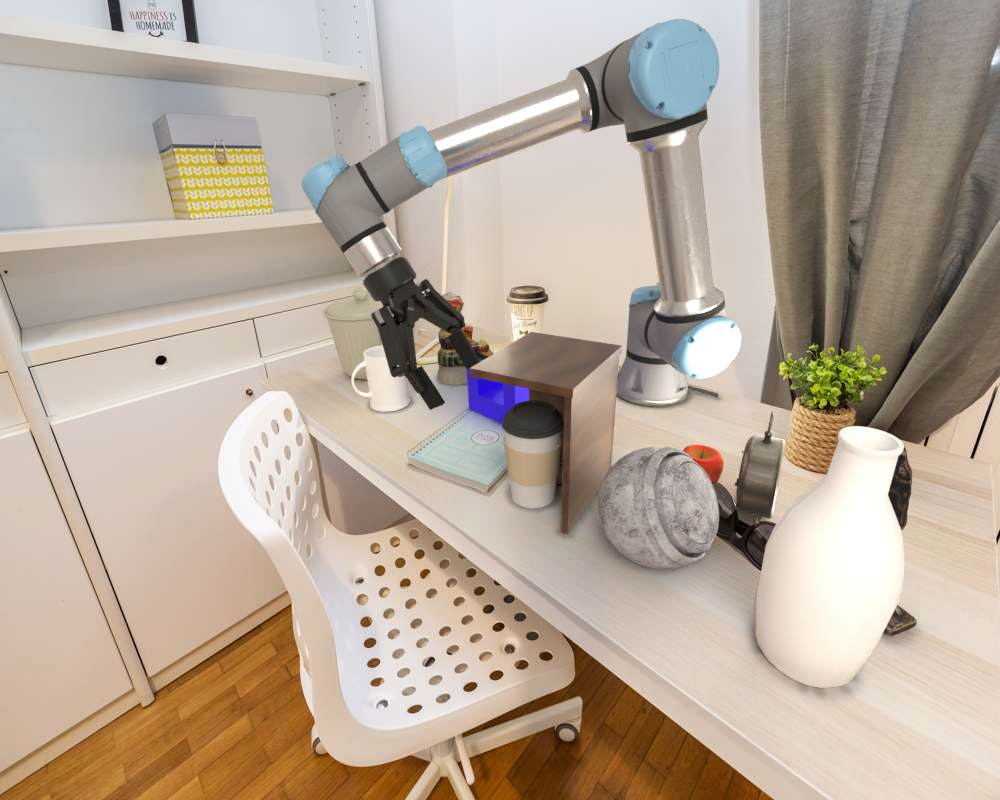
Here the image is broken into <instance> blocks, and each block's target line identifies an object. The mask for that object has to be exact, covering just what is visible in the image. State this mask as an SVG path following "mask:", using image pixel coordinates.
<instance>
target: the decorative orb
mask: <svg viewBox="0 0 1000 800" xmlns="http://www.w3.org/2000/svg"><path fill="white" fill-rule="evenodd" d="M597 496H598V497H597V514H598V519H599V521H600V524H601V525H600V526H601V527H602V529H603V532H604V534H605V536H606V538H607V539H608V541H609V542H610V543H611V544H612V545H613V547H614V548H615V549H616V550H617V552H619V553H620V554H621V555H622V556H624V557H625V558H627V559H629V560H630V561H632V562H633V563H636V564H638V565H641V566H644V567H647V568H650V569H651V568H652V569H657V570H658V569H659V570H670V569H676V568H680V567H683V566H686V565H687V566H688V565H692V564H694V563H696V562H698V561H699V560H701V559H702V558H704V557H705V556H706V555H707V552H708V551H709V550H710V549H711V546H712V544H713V541H714V539H715V538H716V535H717V533H718V530H719V524H720V523H719V522H720V508H719V501H718V496H717V493H716V488H715V489H714V487H713V484H712V482H711V480H710V478H709V476H708V474H707V473H706V472H705V470H704V469H703V468H702V467H701V466H700V465H699V464H697V462H695V461H693V458H692V457H691V456H690V455H689V454H687V453H686V452H684V451H683V450H682V449H679V448H675V447H671V446H664V447H662V446H650V447H644V448H643V447H642V448H639V449H636V450H634V451H631V452H629V453H627V454H626V455H624V456H622V457H621V458H619V459H618V460H616V462H615V463H614V464H612V465H611V468H610V469H609V471H608V472H607V474H606V475H605V477H604V479H603V481H602V484H601V487H600V490H599V491H598V495H597Z"/></svg>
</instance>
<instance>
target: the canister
mask: <svg viewBox="0 0 1000 800" xmlns="http://www.w3.org/2000/svg"><path fill="white" fill-rule="evenodd" d="M381 307H383V305H382V303H381V302H380V301H374V300H373V298H372V297H371V295H370V294H369V292H368V291H367V289H366V288H365V287H357V288H355V289H354V290H353V291H352V296H349V297H344V298H341V299H338V300H335V301H332V303H330V304H329V305H328V306H327V307H325V308H324V309H323V310H322V315H323V317H325V318H326V319H327V323H328V326H329V329H330V334H331V336H332V340H333V343H334V346H335V349H336V352H337V356H338V358H339V359H338V360H339V362H340V364H341V367H342V369H343V371H344V373H345V374H346V375H347V376H348V377H350V378H351V377H352V373H353V371H354V369H355V368H356V367H357V366H358V365H359V364H360V363H361V362H363V361H364V355H363V353H364V351H365V350H367V349H369V348H372V347H375V346H381V345H382V341H381V338H380V334H379V331H378V328H377V326H376V324H375V322H374V320H373V319H372V317H371V314H372V313H373V312H375V311H376V310H378V309H380V308H381ZM355 379H356V380H363V381H365V380H366V381H368V380H367V374H366V368H365V367H362V368H361V369H359V370H358V372H357V373H356V375H355V378H354V380H355Z"/></svg>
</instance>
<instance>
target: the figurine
mask: <svg viewBox="0 0 1000 800" xmlns="http://www.w3.org/2000/svg"><path fill="white" fill-rule="evenodd" d="M441 296H442V297H443V298H444V299H445V300H447V301H448V302H449V303H450V304H451V305H452V306H453V307H454V308H455V309H456V310H457V311H458V312H459V313H460V314H462V311H463V309H464V304H465V302H464V301H463V298H461V296H460V295H458V294H455V293H452V292H445V293H443V294H441ZM462 315H463V314H462ZM452 318H455V317H452ZM464 322H465V323H466V321H465V320H464ZM461 329H462V331H463V333H464V334H465V336H466V338H467V339H468V341H469V343H470V345H471V347H472V348H473V350H474V352H475V353H476V355H477V357H478V358H479V360H481V361H483V360H484V359H486V358H488V357H489V356H491V355H493V354H494V352H493V351H492V349H490V344H489V343H487V341H486V340H485V339H480V340H478V341H476V340H473V334H474V332H473V331H474V327H473V326H471V325H465V327H463V328H461ZM449 335H451V334H449V333H447V332H446V331H444V330H442V329H440V328H439V331H438V335H437V337H438V342H439V345H440V348H439V349H438V352H437V365H438V370H437V380H438V381H439V382H440V383H442V384H444V385H449V386H462V385H468V383H467V368H466V367H465V365H464V363H463V362H462V360H461V359H460V357H459V355H458V354H457V352H456V351H455V349H454V347H453V346H452V344H451V343H450V341H449V339H448V338H447V337H448V336H449Z"/></svg>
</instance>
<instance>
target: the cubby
mask: <svg viewBox="0 0 1000 800" xmlns="http://www.w3.org/2000/svg"><path fill="white" fill-rule="evenodd" d="M622 351H623V346H622V345H621V344H615V343H608V342H600V341H595V340H589V339H581V338H574V337H568V336H561V335H554V334H548V333H541V332H535V331H530V332H528V333H527V334H525V335H523V336H522V337H520V338H518V339H516V340H514V341H513V342H512V343H509V344H508V345H506V346H504V347H503V348H502V349H500V350H498V351H495V352H494V353H493V355H491V356H489V357H488V358H486V359H484V360H483V361H481V362H479V363H478V364H476V365H474V366H473V367H471V368H469V371H470V377H475V378H480V379H485V380H489V381H494V382H499V383H503V384H508V385H513V386H518V387H522V388H527V389H529V401H530V400H537V401H544V402H547V403H550V404H551V405H553V406H554V407H555V408H556V409H557V410H558V411H559V412H560V413H561V414H562V417H563V421H564V428H563V429H562V447H561V455H560V463H559V465H560V464H561V465H562V471H561V472H562V475H561V476H562V477H561V478H562V479H561V513H560V515H561V516H560V533H561V534H565V535H569V533H570V532H571V530H572V529H573V528H574V526H575V525H576V524H577V522H578V520H579V519H580V518H581V516H582V514H583V513H584V511H585V510H586V509H587V508H588V507H589V505H590V504H591V502H592V501H593V499H594V498H595V496H597V494H598V493H599V490H600V487H601V484H602V481H603V479H604V477H605V475H606V474H607V472H608V471H609V469H610V468H611V467H612V461H613V460H612V459H613V448H614V447H613V446H614V445H613V444H614V431H615V419H616V417H615V416H616V405H617V404H616V403H617V394H616V392H617V378H618V374H619V362H620V355H621V354H622Z"/></svg>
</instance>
